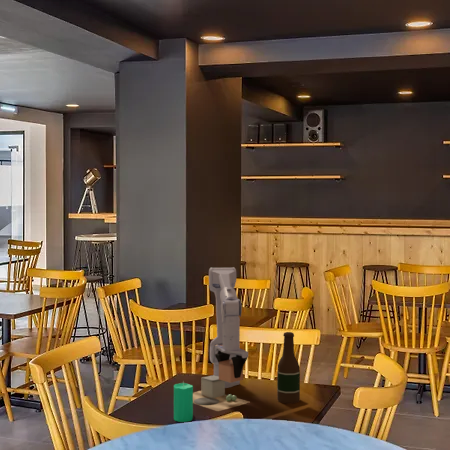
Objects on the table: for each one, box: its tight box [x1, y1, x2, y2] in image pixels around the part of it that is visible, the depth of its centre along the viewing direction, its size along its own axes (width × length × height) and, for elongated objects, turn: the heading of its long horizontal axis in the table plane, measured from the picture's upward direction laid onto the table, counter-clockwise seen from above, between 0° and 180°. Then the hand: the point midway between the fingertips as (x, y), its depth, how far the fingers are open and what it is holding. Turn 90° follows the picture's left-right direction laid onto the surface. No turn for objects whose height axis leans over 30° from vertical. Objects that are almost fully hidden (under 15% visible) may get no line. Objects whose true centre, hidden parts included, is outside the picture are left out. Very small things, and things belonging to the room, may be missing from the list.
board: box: [193, 390, 251, 412], centre depth 233 cm, size 15×22×1 cm
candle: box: [173, 380, 194, 423], centre depth 215 cm, size 6×6×12 cm
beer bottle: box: [276, 331, 301, 404], centre depth 232 cm, size 8×8×24 cm
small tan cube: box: [219, 359, 244, 383], centre depth 232 cm, size 6×6×6 cm
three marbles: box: [226, 393, 238, 401], centre depth 232 cm, size 4×4×2 cm
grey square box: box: [200, 374, 226, 398], centre depth 239 cm, size 6×6×6 cm
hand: (230, 375), depth 232 cm, fingers closed on small tan cube, 6 cm apart
